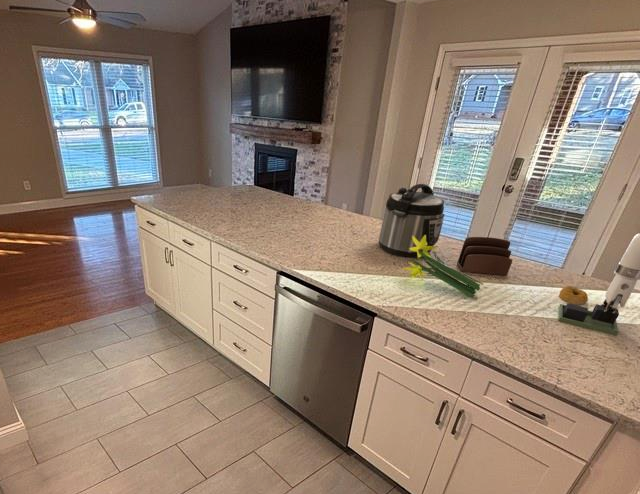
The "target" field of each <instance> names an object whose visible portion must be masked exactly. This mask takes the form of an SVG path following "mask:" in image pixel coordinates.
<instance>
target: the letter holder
mask: <svg viewBox="0 0 640 494" xmlns="http://www.w3.org/2000/svg"><path fill="white" fill-rule="evenodd" d="M510 246H511V241H510V240H507V239H502V238H498V237H491V236H488V237H487V236H468V237H466V238H465V239H464V241H463V245H462V248H461V250H460V253H459V255H458V256H459V257H458V259H457V263H456V264H457V266H458V267H459V269H460V270H461V271H460V272H467V273H475V274H476V273H477V274H485V275H486V274H487V275H496V276H508V275H509V271H510V269H511V267H512V264H513V261H514V260H513V259H512V258H510V257H511V254H512V250H510V249H509V248H510Z"/></svg>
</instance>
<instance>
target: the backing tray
mask: <svg viewBox="0 0 640 494" xmlns="http://www.w3.org/2000/svg"><path fill="white" fill-rule="evenodd" d="M566 305H567V304H563V303H560V304H559V306H558V309H557V310H558V311H557V312H558V315H557V320H558V321H557V322H561V323H564V324H568V325H572V326H576V327H579V328H583V329H587V330H592V331H595V332H600V333H603V334H607V335H612V336H616V337H617V336H618V334H619V327H618V322H617V320H616V321H615V322H614V324H610V323H605V322H601V321H598V320H594V319H592V318H591V313H592V311H593V310H588V314H587V316H586V318H585V320H584V322H580V321H576V320H572V319H568V318H563V311H564V309H565V307H566Z"/></svg>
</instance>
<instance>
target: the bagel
mask: <svg viewBox="0 0 640 494" xmlns="http://www.w3.org/2000/svg"><path fill="white" fill-rule="evenodd" d="M558 297H559V298H560V299H561V300H562V301H564V302H566V303H569V304H573V305H578V306H582V305H584V304H586V303H587V302H588V301H589V297H588V292H586V291H584V290H583V289H581V288H577V287H575V286H571V285H566V286H564V287H562V288H561V289H560V291H559V294H558Z"/></svg>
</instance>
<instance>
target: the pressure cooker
mask: <svg viewBox="0 0 640 494" xmlns="http://www.w3.org/2000/svg"><path fill="white" fill-rule="evenodd" d="M420 189H421V191H418V190H420ZM433 191H434V190H433V188H431V186H429V185H427V184H425V183H417V184H414V185H413V186H411V187H410V188H409V189H407V188H406V187H400V188H399V189H398V191H397V192H393V193H391V194H389V196H388V199H387V200H386V204H385V207H384V212H383V217H382V221H381V227H380V231H379V235H378V245H379V248H381V250H383V251H384V252H387V253H390V254H392V255H396V256H400V257H409V258H410V257H411V258H416V257H417V258H418V256H417V252H415V251H411V250H410V249H409V248H412V247H417V246H416V245H415V243H414V241H413V238H412V235H413V236H414V237H415V238H416V239H417V240H418V241H419V242H420V241H421V239H422V238H423V237H424V235H426V242H427V245H426V246H436V244H437V243H438V241H439V239H440V235H441V231H442V227H443V223H444V219H445V213H444V211H445V206H444V205H445V200H443V199H442V198H440V197H438V196H435V193H434V192H433ZM431 251H432V250H427V252H428V253H429V254H430V253H431Z"/></svg>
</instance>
